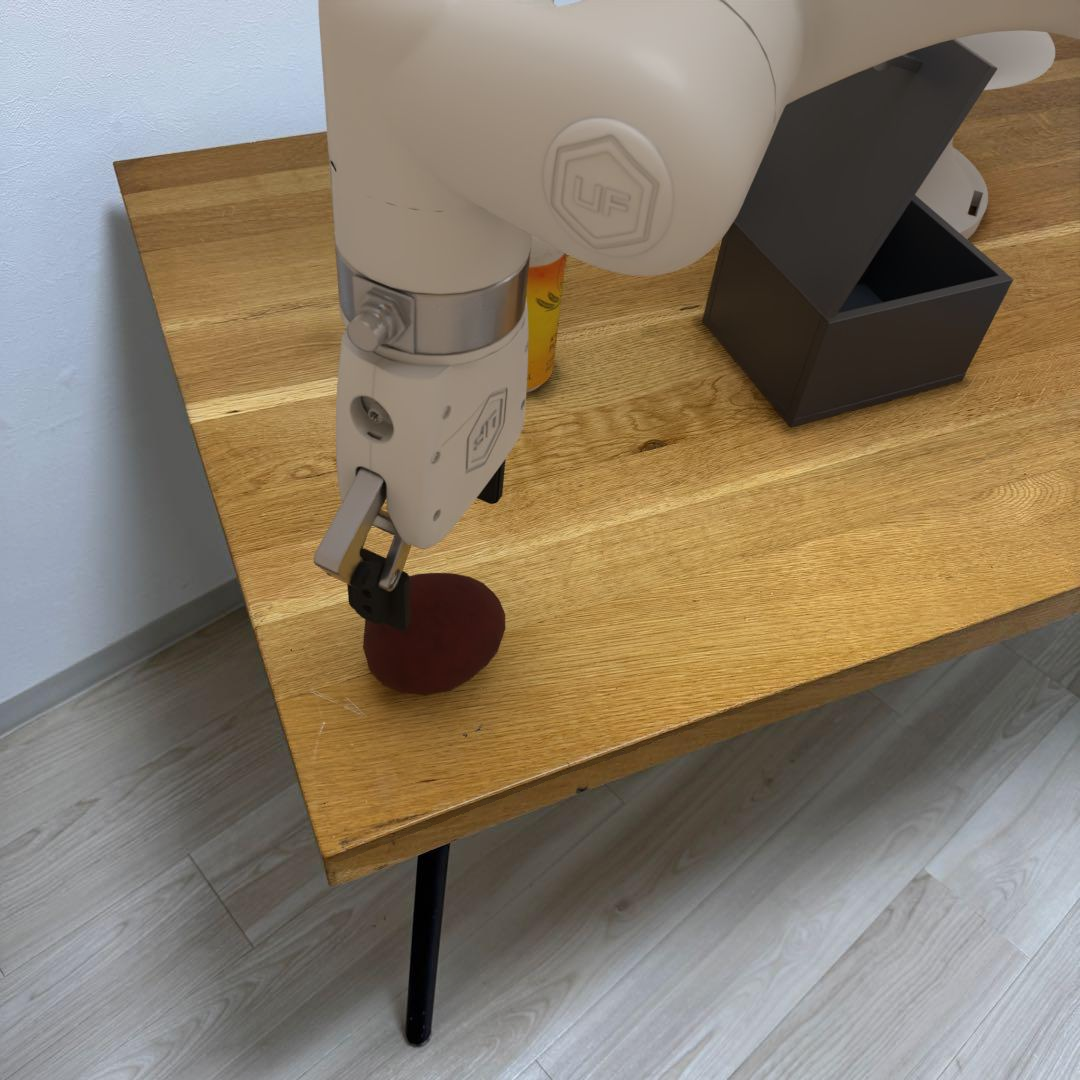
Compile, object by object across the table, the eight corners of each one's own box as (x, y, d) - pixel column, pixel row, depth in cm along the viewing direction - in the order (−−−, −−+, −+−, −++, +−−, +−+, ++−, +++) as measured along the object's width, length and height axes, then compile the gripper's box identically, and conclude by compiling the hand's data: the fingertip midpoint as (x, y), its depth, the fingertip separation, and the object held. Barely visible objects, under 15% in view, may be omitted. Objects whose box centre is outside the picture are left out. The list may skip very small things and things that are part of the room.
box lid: (861, -27, 67) (808, -48, 64) (998, 68, 59) (945, 49, 57) (732, 211, 78) (682, 202, 75) (834, 318, 70) (782, 312, 67)
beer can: (564, 390, 78) (586, 215, 67) (489, 405, 77) (499, 229, 65) (535, 341, 82) (552, 167, 70) (463, 355, 80) (468, 179, 69)
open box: (863, 284, 91) (902, 183, 83) (962, 381, 83) (1014, 279, 75) (701, 320, 85) (727, 216, 78) (790, 427, 78) (828, 323, 70)
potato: (526, 680, 61) (535, 610, 56) (396, 739, 58) (392, 671, 53) (468, 592, 65) (471, 519, 60) (344, 643, 62) (335, 571, 57)
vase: (947, 131, 110) (1009, -24, 99) (1012, 268, 94) (1095, 102, 82) (717, 111, 109) (752, -48, 97) (743, 246, 93) (788, 75, 81)
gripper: (401, 442, 35) (406, 706, 48) (606, 206, 45) (563, 475, 58) (218, 364, 36) (270, 640, 49) (456, 154, 47) (448, 426, 60)
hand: (429, 550), depth 54 cm, fingers open, 9 cm apart
